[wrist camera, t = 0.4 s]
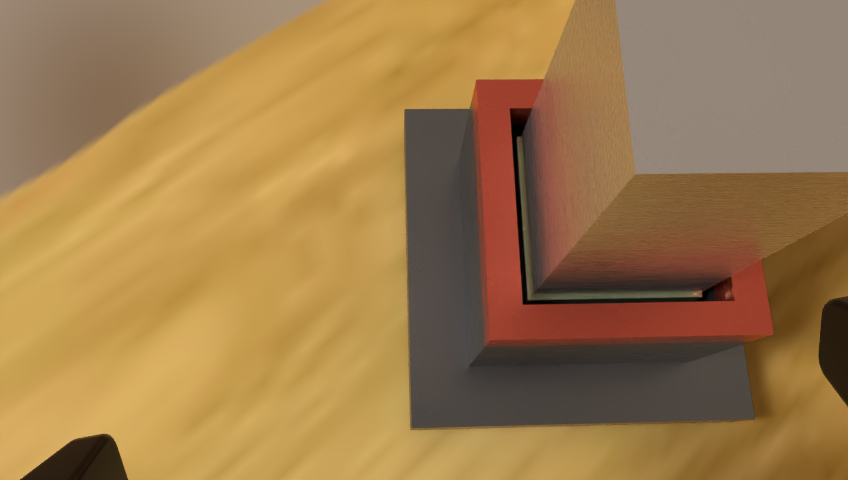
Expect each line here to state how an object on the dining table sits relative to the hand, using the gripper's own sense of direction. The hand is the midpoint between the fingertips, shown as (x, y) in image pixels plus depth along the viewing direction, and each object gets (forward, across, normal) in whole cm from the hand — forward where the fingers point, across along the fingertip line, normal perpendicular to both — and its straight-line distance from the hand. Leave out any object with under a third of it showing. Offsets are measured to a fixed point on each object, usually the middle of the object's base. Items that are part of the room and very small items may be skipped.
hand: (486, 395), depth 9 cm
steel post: (+12, -5, +4) cm, 14 cm away
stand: (+14, -5, +5) cm, 15 cm away
